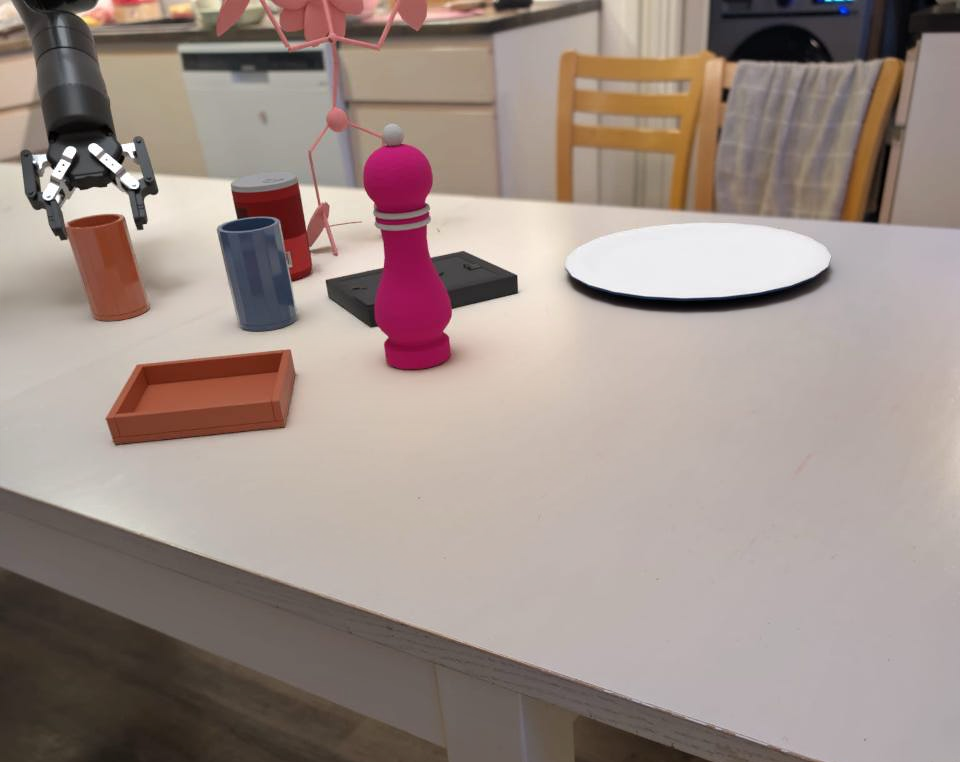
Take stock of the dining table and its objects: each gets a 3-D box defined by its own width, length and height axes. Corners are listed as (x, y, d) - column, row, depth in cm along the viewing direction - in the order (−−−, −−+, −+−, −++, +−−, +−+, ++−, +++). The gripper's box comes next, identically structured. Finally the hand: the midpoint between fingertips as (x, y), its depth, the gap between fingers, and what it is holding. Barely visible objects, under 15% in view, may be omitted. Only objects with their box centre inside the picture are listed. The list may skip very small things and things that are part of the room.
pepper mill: (381, 348, 93) (350, 121, 81) (454, 341, 93) (433, 113, 81) (380, 375, 87) (346, 134, 75) (457, 367, 87) (436, 126, 75)
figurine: (457, 231, 128) (431, -93, 107) (279, 269, 119) (212, -76, 98) (408, 212, 139) (376, -85, 118) (242, 245, 130) (175, -69, 109)
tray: (114, 444, 79) (105, 418, 77) (143, 389, 89) (136, 364, 87) (285, 427, 79) (279, 400, 78) (295, 373, 89) (290, 348, 88)
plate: (867, 300, 94) (870, 283, 93) (576, 322, 95) (576, 305, 94) (788, 227, 117) (790, 213, 116) (555, 246, 118) (555, 231, 117)
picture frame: (370, 327, 98) (518, 292, 104) (367, 305, 97) (517, 271, 103) (327, 296, 108) (464, 266, 114) (324, 276, 107) (463, 247, 112)
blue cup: (235, 334, 100) (212, 235, 94) (242, 314, 105) (221, 220, 99) (295, 327, 100) (276, 228, 94) (299, 309, 105) (281, 214, 99)
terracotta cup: (87, 323, 106) (57, 230, 100) (100, 306, 112) (72, 216, 106) (143, 318, 107) (116, 224, 101) (154, 300, 112) (129, 211, 106)
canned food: (326, 269, 117) (310, 173, 111) (281, 287, 112) (262, 188, 106) (282, 263, 121) (264, 170, 115) (237, 280, 116) (216, 184, 110)
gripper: (-1, 88, 104) (24, 220, 102) (130, 74, 106) (158, 202, 104) (23, 135, 111) (46, 258, 109) (145, 120, 114) (170, 241, 112)
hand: (101, 231), depth 107 cm, fingers open, 8 cm apart
